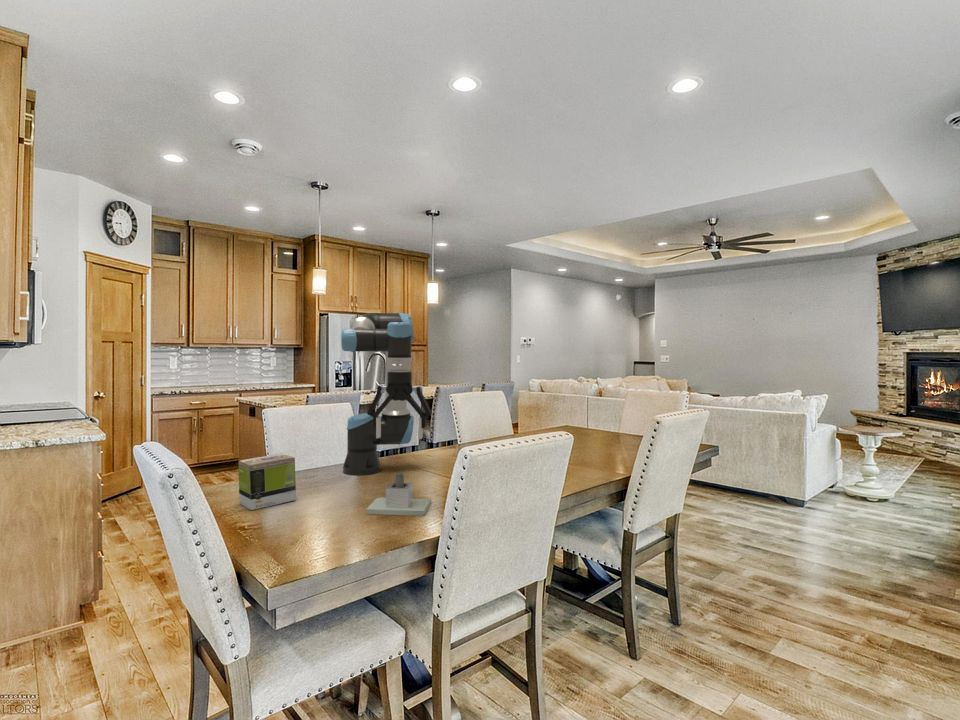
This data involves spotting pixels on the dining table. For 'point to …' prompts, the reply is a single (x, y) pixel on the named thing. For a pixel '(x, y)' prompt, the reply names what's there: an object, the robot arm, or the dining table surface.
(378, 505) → the post block
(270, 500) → the tea box
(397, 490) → the collar
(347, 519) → the dining table surface
